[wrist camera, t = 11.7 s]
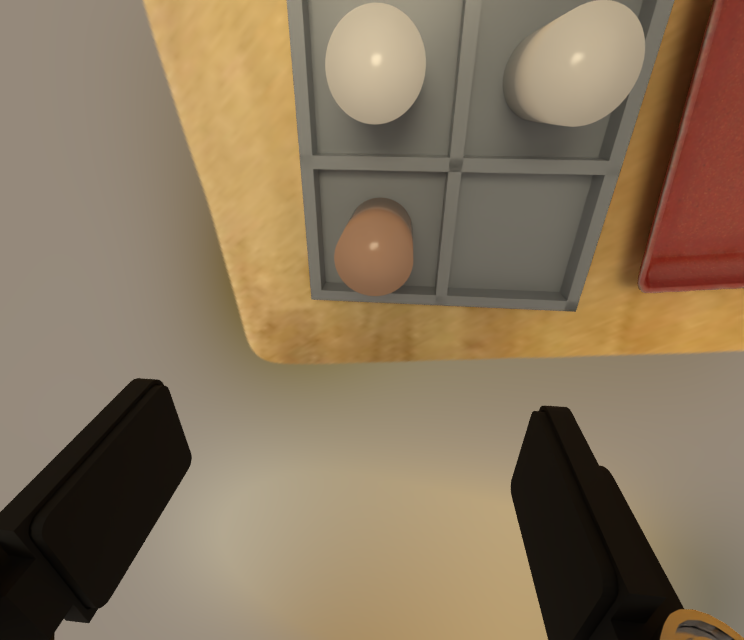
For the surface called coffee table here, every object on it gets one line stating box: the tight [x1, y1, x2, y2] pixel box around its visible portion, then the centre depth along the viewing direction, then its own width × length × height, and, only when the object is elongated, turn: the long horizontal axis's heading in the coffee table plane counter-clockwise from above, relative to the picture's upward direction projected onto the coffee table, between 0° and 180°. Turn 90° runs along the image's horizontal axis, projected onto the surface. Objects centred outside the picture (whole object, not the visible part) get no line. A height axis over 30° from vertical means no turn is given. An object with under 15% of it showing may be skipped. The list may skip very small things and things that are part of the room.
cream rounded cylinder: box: [503, 0, 645, 127], centre depth 19 cm, size 5×5×6 cm
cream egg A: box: [325, 3, 426, 125], centre depth 20 cm, size 5×5×6 cm
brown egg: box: [334, 197, 413, 296], centre depth 24 cm, size 5×5×6 cm
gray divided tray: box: [287, 0, 674, 312], centre depth 24 cm, size 19×19×2 cm
